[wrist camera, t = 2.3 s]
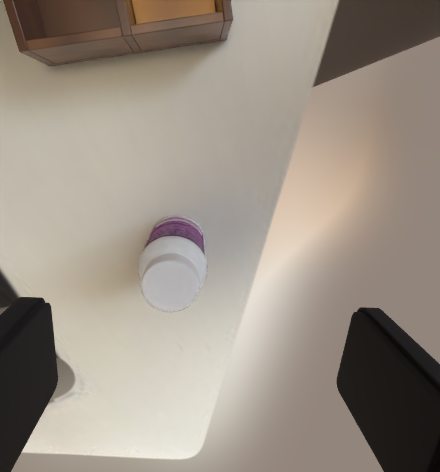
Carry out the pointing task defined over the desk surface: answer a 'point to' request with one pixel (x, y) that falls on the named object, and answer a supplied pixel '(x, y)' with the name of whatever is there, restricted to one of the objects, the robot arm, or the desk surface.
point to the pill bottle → (173, 264)
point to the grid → (113, 26)
